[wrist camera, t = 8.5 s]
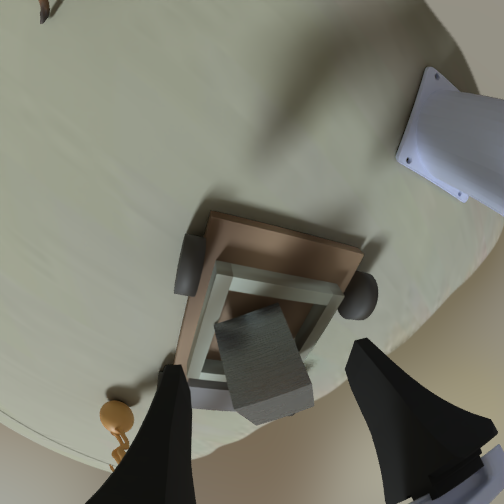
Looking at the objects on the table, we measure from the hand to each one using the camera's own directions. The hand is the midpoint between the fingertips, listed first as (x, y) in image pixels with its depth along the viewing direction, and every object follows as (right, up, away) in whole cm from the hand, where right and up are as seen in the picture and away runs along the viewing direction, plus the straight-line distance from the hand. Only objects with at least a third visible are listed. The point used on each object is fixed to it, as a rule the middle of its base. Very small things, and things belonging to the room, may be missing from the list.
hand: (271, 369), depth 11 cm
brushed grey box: (-1, -1, +9) cm, 9 cm away
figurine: (-15, -13, +16) cm, 26 cm away
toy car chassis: (-1, -2, +12) cm, 12 cm away
